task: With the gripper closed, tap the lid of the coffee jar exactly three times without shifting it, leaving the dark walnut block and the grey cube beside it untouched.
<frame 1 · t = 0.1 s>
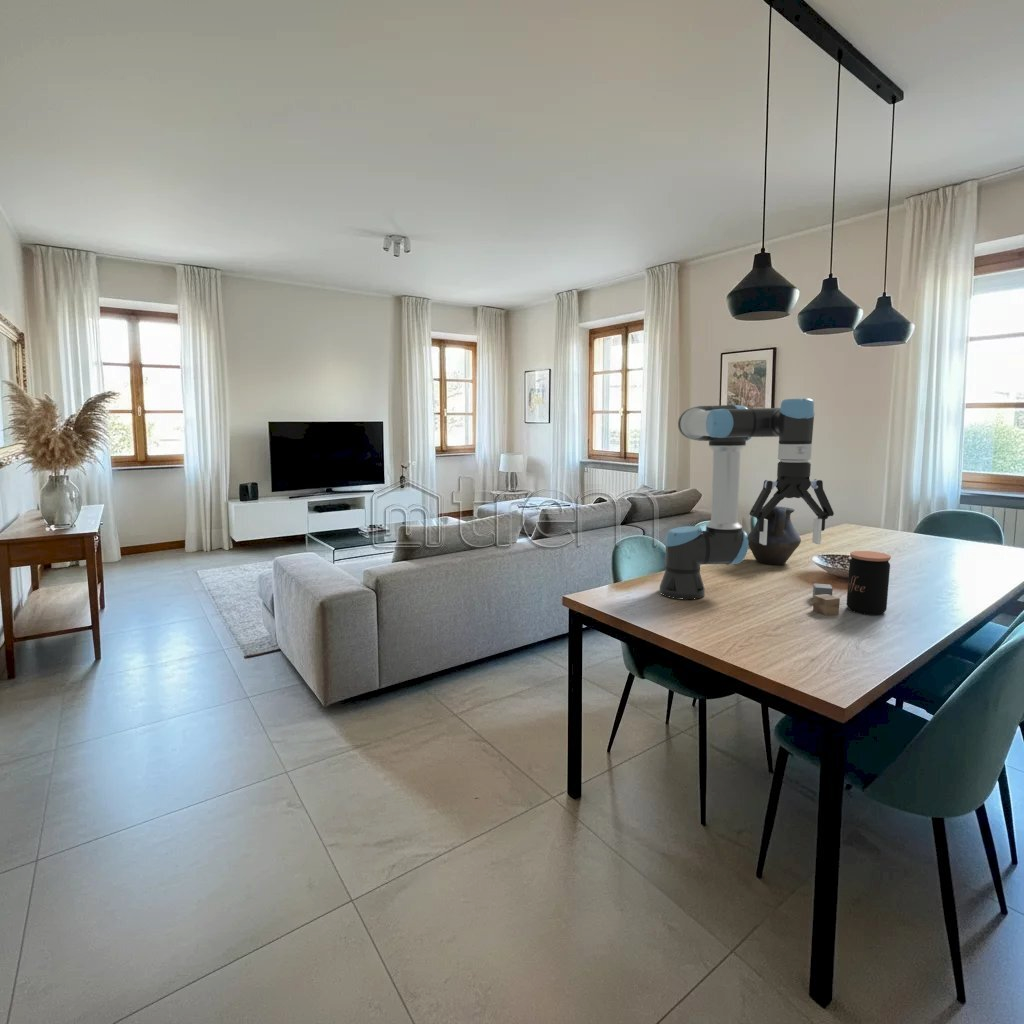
hand: (789, 543, 147), 28 cm above the table, fingers open, 13 cm apart
pitcher: (772, 563, 242), on the table
walnut block: (825, 612, 179), on the table
coffee jar: (865, 611, 179), on the table
grey cube: (821, 600, 190), on the table
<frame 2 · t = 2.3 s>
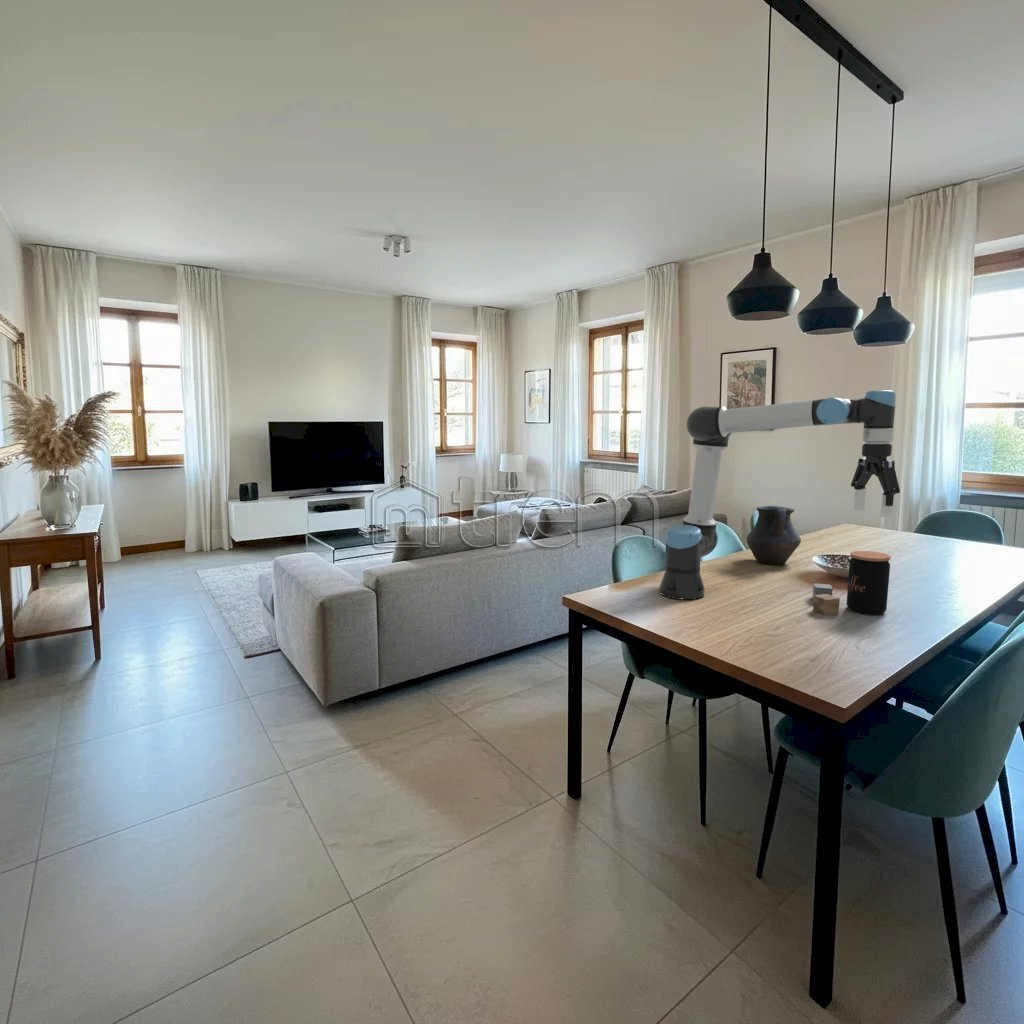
hand: (872, 513, 174), 31 cm above the table, fingers open, 13 cm apart
nothing on the table moved.
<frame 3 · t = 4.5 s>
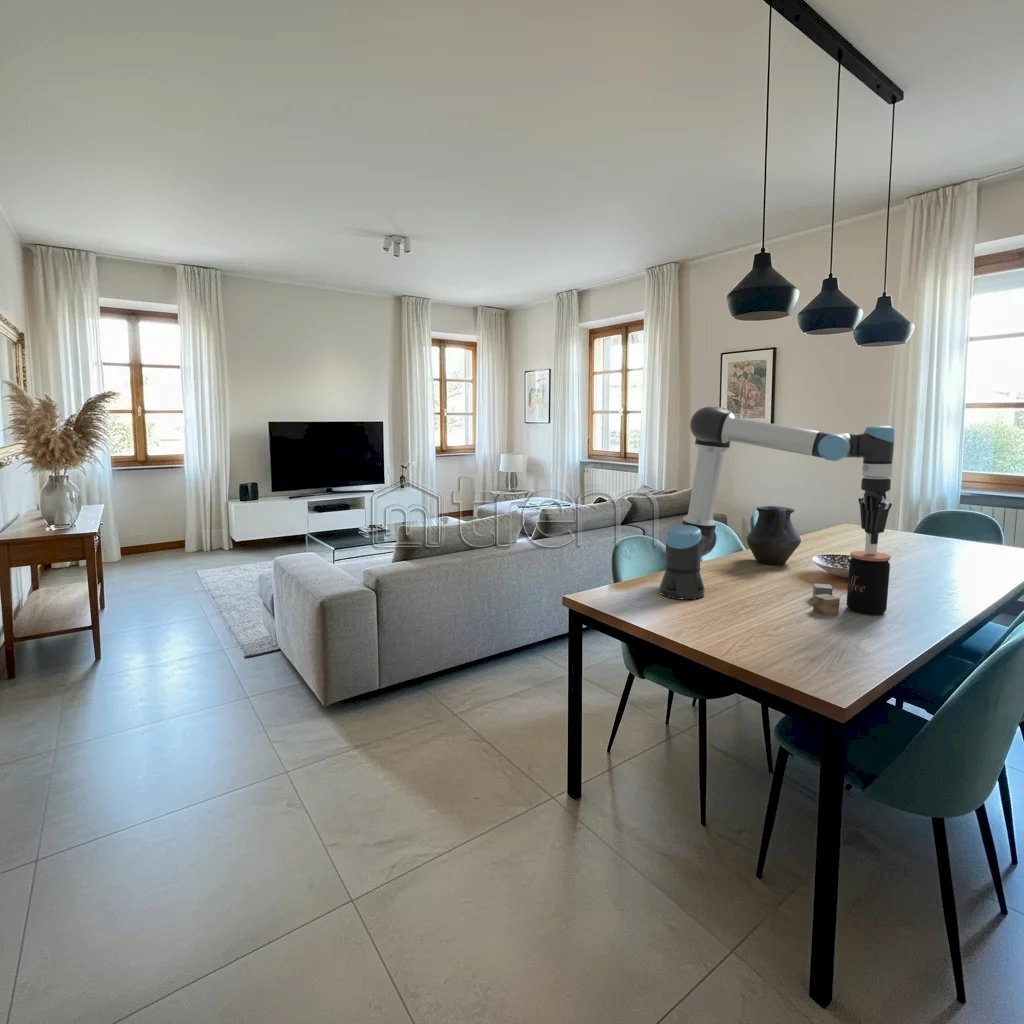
hand: (870, 553, 176), 18 cm above the table, fingers closed
coffee jar: (865, 611, 179), on the table, touching gripper
everything else where it was.
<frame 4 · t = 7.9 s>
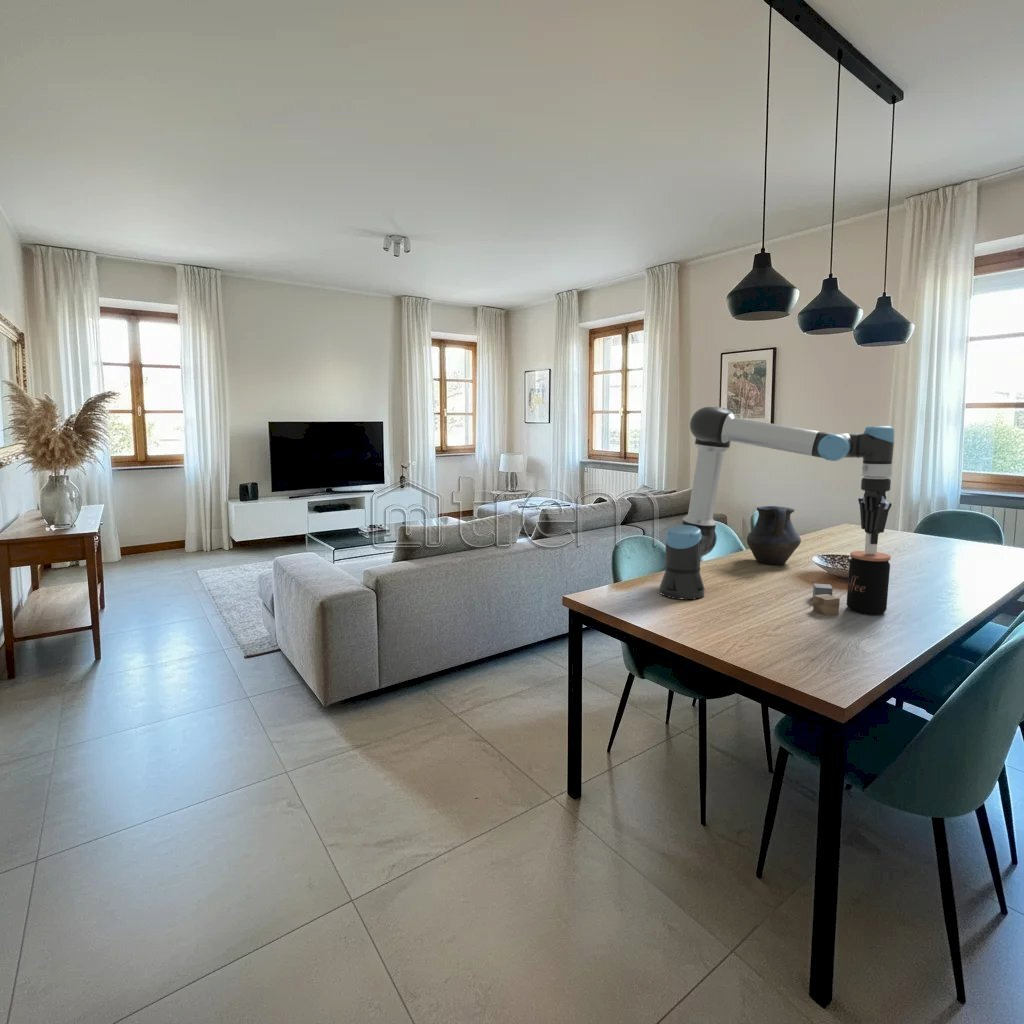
hand: (870, 553, 177), 18 cm above the table, fingers closed
nothing on the table moved.
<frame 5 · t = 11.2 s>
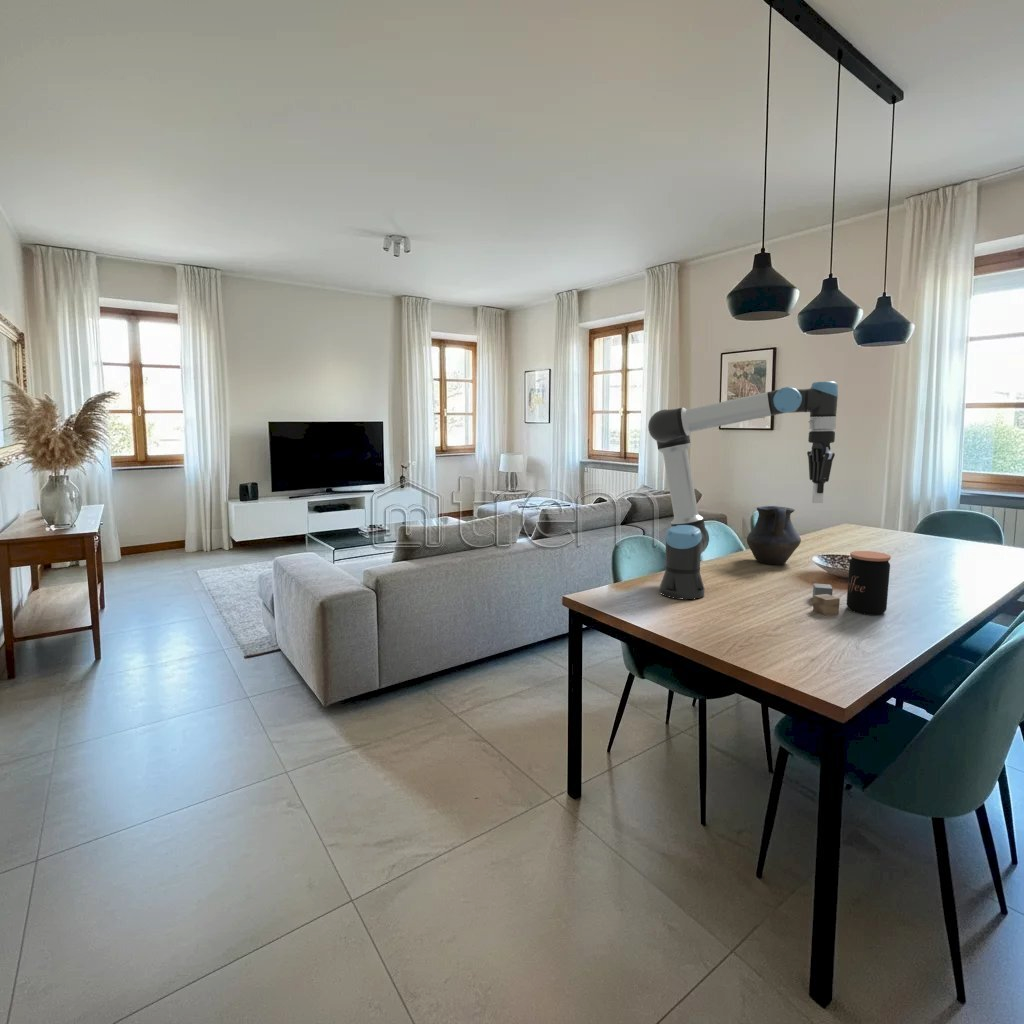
hand: (817, 502, 188), 32 cm above the table, fingers closed
coffee jar: (865, 611, 179), on the table
everything else where it was.
at the end: coffee jar moved 0.2 cm from its start; coffee jar tilted 0°; grey cube moved 0.1 cm from its start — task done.
